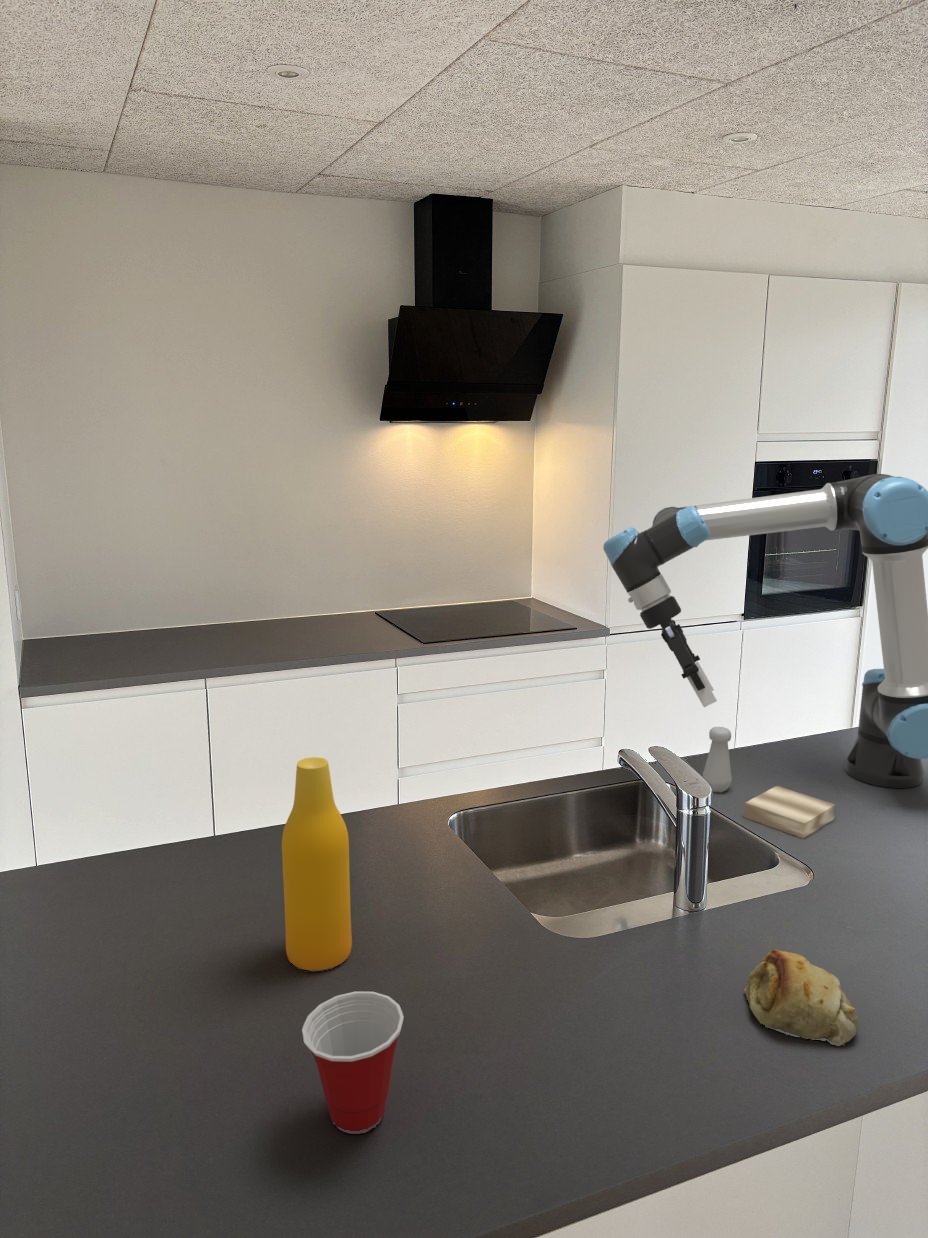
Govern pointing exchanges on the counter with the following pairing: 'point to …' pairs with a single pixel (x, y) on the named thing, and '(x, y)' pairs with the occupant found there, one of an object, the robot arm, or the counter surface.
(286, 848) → the beer bottle
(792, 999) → the pastry
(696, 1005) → the counter surface
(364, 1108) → the plastic cup
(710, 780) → the salt shaker
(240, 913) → the counter surface
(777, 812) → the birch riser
